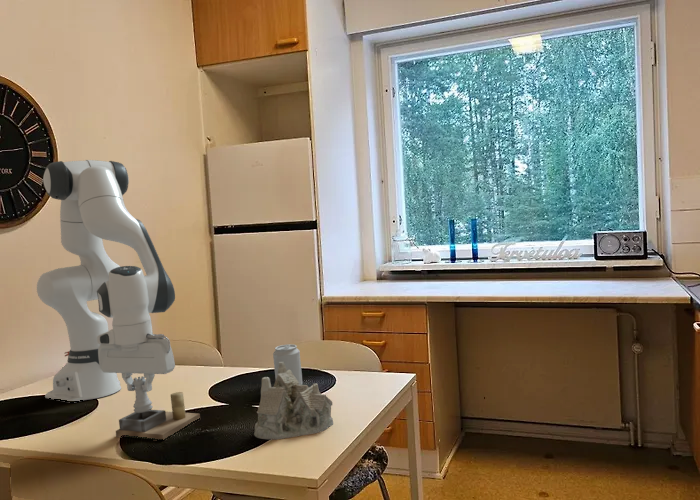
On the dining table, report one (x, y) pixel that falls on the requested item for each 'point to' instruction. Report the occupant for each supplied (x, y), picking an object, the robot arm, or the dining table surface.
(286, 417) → the ceramic cottage
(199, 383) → the dining table surface
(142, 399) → the rook chess piece
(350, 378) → the dining table surface
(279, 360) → the can
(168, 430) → the carrier plate
